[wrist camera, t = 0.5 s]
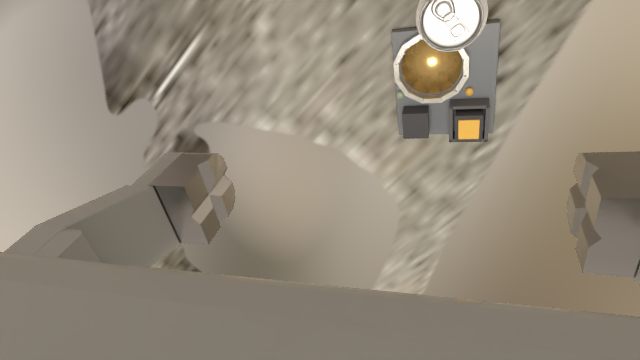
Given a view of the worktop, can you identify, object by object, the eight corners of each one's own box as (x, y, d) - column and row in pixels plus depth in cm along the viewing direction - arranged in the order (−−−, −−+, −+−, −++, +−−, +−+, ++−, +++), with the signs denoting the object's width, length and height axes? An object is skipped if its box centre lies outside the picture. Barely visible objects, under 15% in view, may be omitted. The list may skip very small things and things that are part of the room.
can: (463, -56, 44) (464, -35, 35) (495, -4, 46) (503, 28, 37) (411, -15, 48) (399, 14, 39) (443, 31, 50) (438, 69, 41)
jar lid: (392, 33, 50) (391, 37, 49) (469, 26, 48) (469, 29, 47) (397, 100, 55) (396, 104, 54) (467, 97, 52) (467, 101, 52)
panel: (392, 29, 51) (388, 38, 49) (499, 19, 47) (501, 28, 45) (400, 130, 59) (397, 143, 56) (492, 128, 55) (493, 142, 53)
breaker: (455, 108, 52) (455, 117, 51) (482, 107, 51) (483, 116, 50) (455, 133, 54) (454, 142, 53) (481, 133, 53) (482, 142, 52)
